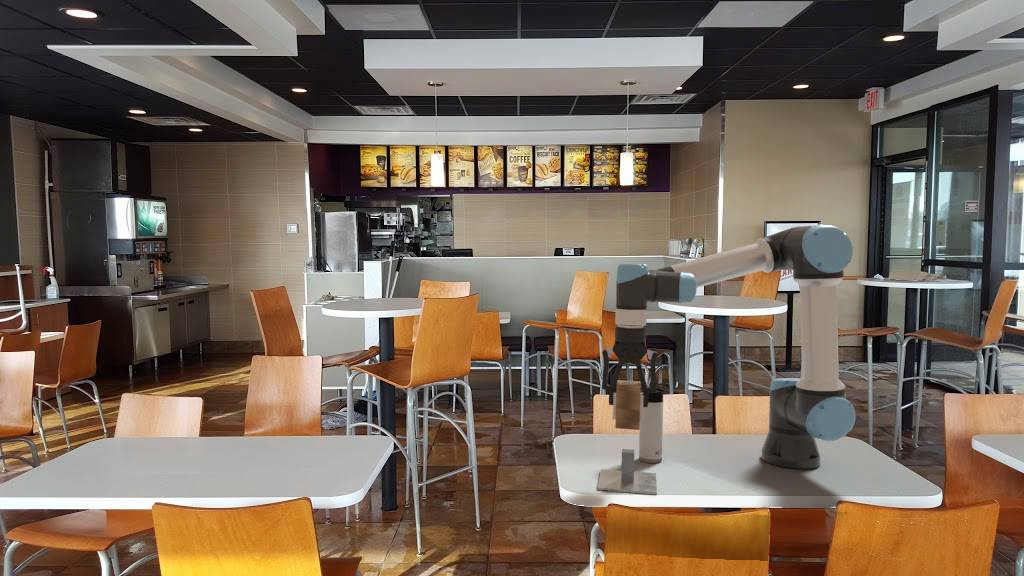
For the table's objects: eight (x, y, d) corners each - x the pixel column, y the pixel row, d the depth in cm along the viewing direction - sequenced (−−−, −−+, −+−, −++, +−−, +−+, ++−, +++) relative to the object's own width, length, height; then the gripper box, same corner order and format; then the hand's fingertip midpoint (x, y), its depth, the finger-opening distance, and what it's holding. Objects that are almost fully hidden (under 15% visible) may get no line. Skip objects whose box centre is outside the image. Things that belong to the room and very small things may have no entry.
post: (655, 475, 173) (656, 444, 172) (656, 494, 159) (657, 461, 159) (601, 471, 175) (601, 441, 175) (597, 490, 162) (598, 457, 161)
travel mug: (663, 464, 182) (665, 391, 181) (638, 462, 183) (640, 390, 182) (663, 457, 188) (664, 386, 187) (639, 455, 189) (640, 385, 188)
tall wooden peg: (639, 424, 169) (640, 381, 168) (639, 429, 163) (640, 385, 162) (616, 422, 170) (617, 380, 169) (615, 428, 164) (616, 384, 163)
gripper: (669, 326, 167) (666, 417, 168) (593, 323, 170) (591, 413, 172) (670, 329, 160) (667, 425, 161) (591, 326, 163) (588, 420, 164)
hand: (627, 418), depth 166 cm, fingers closed on tall wooden peg, 6 cm apart
